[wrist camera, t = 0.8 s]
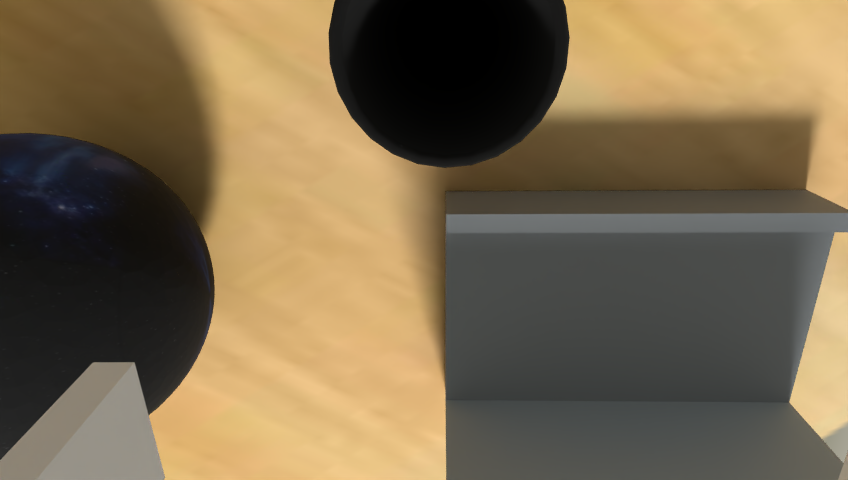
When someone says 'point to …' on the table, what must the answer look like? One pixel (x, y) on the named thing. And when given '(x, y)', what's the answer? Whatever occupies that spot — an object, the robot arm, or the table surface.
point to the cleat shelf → (632, 334)
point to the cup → (448, 73)
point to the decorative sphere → (92, 275)
